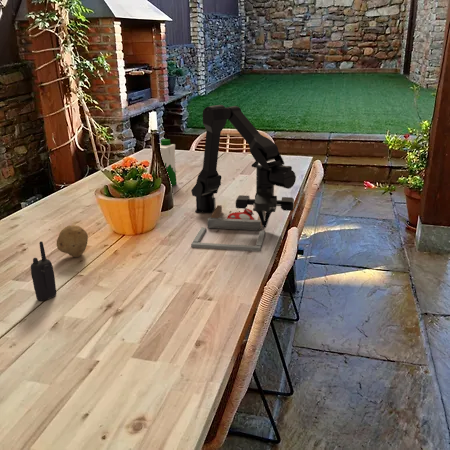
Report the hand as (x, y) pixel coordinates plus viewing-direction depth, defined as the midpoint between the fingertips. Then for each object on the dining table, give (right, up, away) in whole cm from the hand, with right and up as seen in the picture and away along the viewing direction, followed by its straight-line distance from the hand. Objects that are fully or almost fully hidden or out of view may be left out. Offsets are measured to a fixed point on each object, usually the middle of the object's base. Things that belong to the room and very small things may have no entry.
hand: (264, 227), depth 158 cm
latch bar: (-10, -1, +3) cm, 11 cm away
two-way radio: (-58, -18, -38) cm, 72 cm away
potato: (-59, -9, -15) cm, 61 cm away
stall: (-8, +3, +11) cm, 14 cm away
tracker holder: (-6, +1, +9) cm, 11 cm away
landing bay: (-12, -4, -6) cm, 14 cm away
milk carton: (-40, +18, +53) cm, 69 cm away
